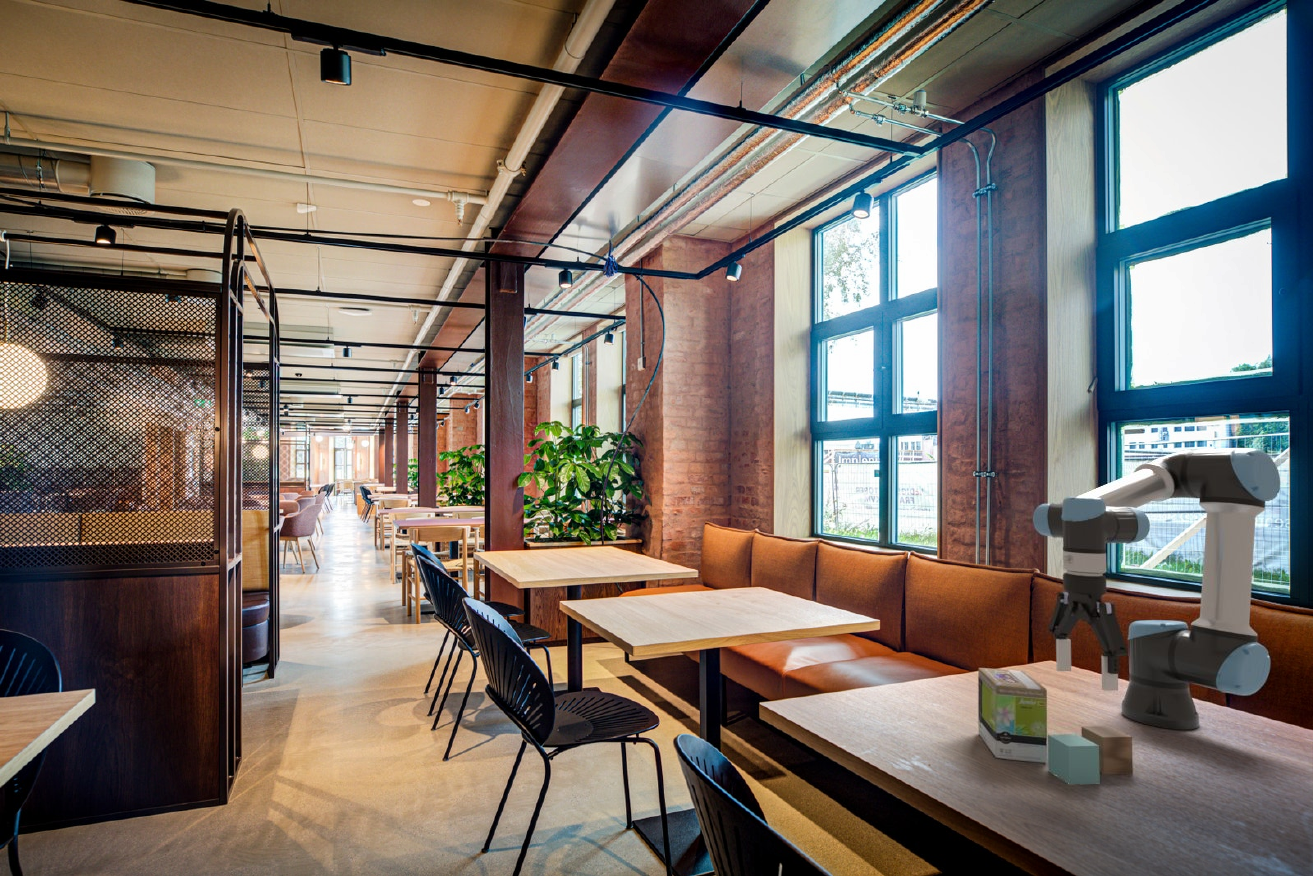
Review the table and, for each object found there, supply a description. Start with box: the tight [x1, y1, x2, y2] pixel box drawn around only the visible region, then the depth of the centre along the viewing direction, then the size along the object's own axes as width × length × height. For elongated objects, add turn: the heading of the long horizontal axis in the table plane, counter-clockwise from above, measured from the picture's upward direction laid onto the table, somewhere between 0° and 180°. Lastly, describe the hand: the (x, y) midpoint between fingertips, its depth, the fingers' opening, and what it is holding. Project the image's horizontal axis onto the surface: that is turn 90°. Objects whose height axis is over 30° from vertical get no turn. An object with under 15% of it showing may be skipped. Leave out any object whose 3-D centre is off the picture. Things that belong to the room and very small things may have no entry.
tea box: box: [977, 667, 1048, 763], centre depth 150 cm, size 15×10×15 cm
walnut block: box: [1081, 725, 1134, 775], centre depth 140 cm, size 6×6×7 cm
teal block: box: [1047, 733, 1100, 786], centre depth 135 cm, size 6×6×7 cm
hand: (1085, 680), depth 142 cm, fingers open, 13 cm apart
